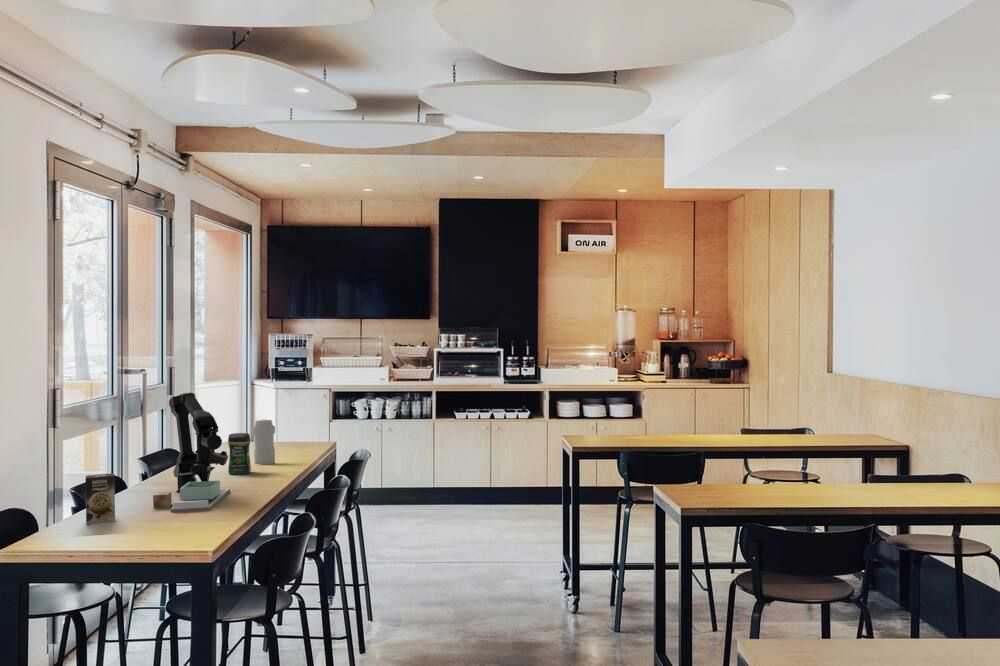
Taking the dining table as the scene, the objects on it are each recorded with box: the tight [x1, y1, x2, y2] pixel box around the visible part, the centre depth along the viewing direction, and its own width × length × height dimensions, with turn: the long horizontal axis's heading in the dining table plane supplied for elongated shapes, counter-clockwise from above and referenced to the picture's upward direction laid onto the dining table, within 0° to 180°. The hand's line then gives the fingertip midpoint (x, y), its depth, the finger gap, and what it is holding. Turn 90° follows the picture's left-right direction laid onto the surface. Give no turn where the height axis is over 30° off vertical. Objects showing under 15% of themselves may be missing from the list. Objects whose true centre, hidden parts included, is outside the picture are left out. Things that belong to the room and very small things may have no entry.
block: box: [152, 491, 173, 509], centre depth 283 cm, size 5×5×5 cm
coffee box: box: [84, 472, 116, 525], centre depth 263 cm, size 9×6×16 cm
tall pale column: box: [252, 418, 276, 465], centre depth 366 cm, size 11×4×22 cm, turn 96°
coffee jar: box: [227, 432, 252, 475], centre depth 344 cm, size 10×8×19 cm
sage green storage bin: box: [179, 480, 221, 502], centre depth 287 cm, size 12×12×6 cm
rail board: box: [170, 487, 231, 513], centre depth 289 cm, size 14×30×3 cm, turn 7°
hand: (205, 486), depth 295 cm, fingers closed
